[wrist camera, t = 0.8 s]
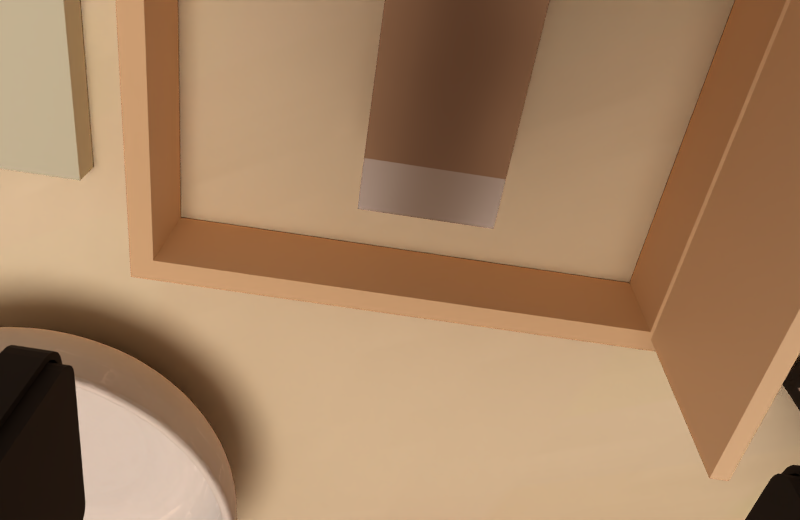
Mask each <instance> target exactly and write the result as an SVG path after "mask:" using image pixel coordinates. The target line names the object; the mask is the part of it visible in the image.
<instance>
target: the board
mask: <svg viewBox="0 0 800 520" xmlns="http://www.w3.org/2000/svg"><path fill="white" fill-rule="evenodd" d="M92 168H93V155H92V143H91V130H90V118H89V105H88V93H87V80H86V68H85V56H84V43H83V31H82V18H81V6H80V0H0V169H5V170H12V171H19V172H26V173H32V174H39V175H46V176H53V177H59V178H66V179H73V180H81V179H82V178H83V177H84V176H85V175H86V174H87V173H88V172H89V171H90V170H91V169H92Z"/></svg>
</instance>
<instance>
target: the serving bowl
mask: <svg viewBox="0 0 800 520" xmlns="http://www.w3.org/2000/svg"><path fill="white" fill-rule="evenodd" d="M10 345H17V346H24V347H30V348H37V349H43V350H50V351H55V352H58V353H59V354H60V356H61V360H62V364H65V365H70V366H72V367H73V369H74V374H75V386H76V398H77V409H78V421H79V433H80V444H81V456H82V468H83V480H84V491H85V514H84V518H83V520H237V502H236V492H235V485H234V480H233V476H232V472H231V468H230V465H229V462H228V459H227V456H226V454H225V452H224V450H223V447H222V445H221V443H220V441H219V439H218V437H217V436H216V434H215V432H214V430H213V429H212V427H211V426H210V424H209V423H208V421H207V420H206V419H205V417H204V416H203V415H202V413H201V412H200V411H199V410H198V408H197V407H196V406H195V405H194V404H193V403H192V402H191V400H190V399H189V398H188V397H187V396H186V395H185V394H184V393H183V392H182V391H181V390H179V389H178V388H177V387H176V386H175V385H174V384H172V383H171V382H170V381H169V380H168V379H166V378H165V377H164V376H162V375H161V374H160V373H158V372H157V371H155V370H154V369H152V368H151V367H149V366H147V365H146V364H144V363H143V362H141V361H139V360H138V359H136V358H134V357H132V356H130V355H128V354H126V353H124V352H122V351H120V350H117V349H115V348H113V347H110V346H108V345H105V344H102V343H99V342H96V341H93V340H90V339H87V338H84V337H80V336H76V335H72V334H68V333H63V332H58V331H52V330H46V329H37V328H26V327H0V353H1V351H3V350H4V349H5V348H6V347H7V346H10Z"/></svg>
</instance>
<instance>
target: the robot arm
mask: <svg viewBox="0 0 800 520" xmlns="http://www.w3.org/2000/svg"><path fill="white" fill-rule="evenodd" d="M84 514H85V491H84V480H83V468H82V456H81V444H80V433H79V421H78V409H77V398H76V386H75V374H74V369H73V367H72V366H70V365H65V364H62V360H61V356H60V354H59V353H58V352H55V351H50V350H43V349H37V348H30V347H24V346H17V345H10V346H7V347H6V348H5V349H4V350H3V351H1V353H0V520H83V518H84ZM745 520H800V466H799V465H792V466H789V467H787V468H786V469H785V470H784V471H783V473H782V474H776V475H774V476H773V477H772V478H771V479H770V481H769V483H768V484H767V486H766V487H765V489H764V491H763V492H762V494H761V495H760V497H759V498H758V500H757V502H756V503H755V505H754V506H753V508H752V510H751V511H750V513H749V514H748V516H747V518H746V519H745Z"/></svg>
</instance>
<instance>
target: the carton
mask: <svg viewBox="0 0 800 520" xmlns="http://www.w3.org/2000/svg"><path fill="white" fill-rule="evenodd" d="M116 17H117V35H118V53H119V71H120V89H121V107H122V125H123V143H124V161H125V178H126V196H127V214H128V232H129V250H130V268H131V277H136V278H144V279H151V280H158V281H165V282H172V283H179V284H186V285H193V286H200V287H207V288H214V289H221V290H228V291H235V292H242V293H249V294H256V295H263V296H270V297H277V298H284V299H291V300H298V301H305V302H312V303H319V304H326V305H333V306H340V307H347V308H354V309H361V310H368V311H375V312H382V313H389V314H396V315H403V316H410V317H417V318H424V319H432V320H439V321H446V322H453V323H460V324H467V325H474V326H481V327H488V328H495V329H502V330H509V331H516V332H523V333H530V334H537V335H544V336H551V337H558V338H565V339H572V340H579V341H586V342H593V343H600V344H607V345H614V346H621V347H628V348H635V349H642V350H649V351H656V353H657V355H658V358H659V360H660V362H661V365H662V367H663V369H664V372H665V374H666V377H667V379H668V381H669V384H670V386H671V388H672V391H673V393H674V395H675V398H676V400H677V403H678V405H679V407H680V410H681V412H682V414H683V417H684V419H685V422H686V424H687V426H688V429H689V431H690V433H691V436H692V438H693V440H694V443H695V445H696V448H697V450H698V452H699V455H700V457H701V459H702V462H703V464H704V466H705V469H706V471H707V474H708V476H709V478H710V479H718V480H725V481H729V480H730V478H731V476H732V474H733V472H734V471H735V469H736V467H737V465H738V463H739V462H740V460H741V458H742V456H743V454H744V453H745V451H746V449H747V447H748V445H749V444H750V442H751V440H752V438H753V436H754V435H755V433H756V431H757V429H758V427H759V426H760V424H761V422H762V420H763V418H764V416H765V415H766V413H767V411H768V409H769V407H770V406H771V404H772V402H773V400H774V398H775V397H776V395H777V393H778V391H779V389H780V388H781V386H782V384H783V382H784V380H785V379H786V377H787V375H788V373H789V371H790V370H791V368H792V366H793V364H794V362H795V361H796V359H797V357H798V355H799V353H800V0H735V2H734V5H733V8H732V10H731V13H730V16H729V18H728V21H727V24H726V26H725V29H724V32H723V34H722V37H721V40H720V42H719V45H718V48H717V50H716V53H715V56H714V58H713V61H712V64H711V66H710V69H709V72H708V75H707V77H706V80H705V83H704V85H703V88H702V91H701V93H700V96H699V99H698V101H697V104H696V107H695V109H694V112H693V115H692V117H691V120H690V123H689V125H688V128H687V131H686V133H685V136H684V139H683V141H682V144H681V147H680V149H679V152H678V155H677V157H676V160H675V163H674V165H673V168H672V171H671V173H670V176H669V179H668V182H667V184H666V187H665V190H664V192H663V195H662V198H661V200H660V203H659V206H658V208H657V211H656V214H655V216H654V219H653V222H652V224H651V227H650V230H649V232H648V235H647V238H646V240H645V243H644V246H643V248H642V251H641V254H640V256H639V259H638V262H637V264H636V267H635V270H634V272H633V275H632V278H631V280H630V283H626V282H619V281H612V280H605V279H599V278H592V277H585V276H578V275H571V274H564V273H558V272H551V271H544V270H537V269H530V268H523V267H517V266H510V265H503V264H496V263H489V262H482V261H476V260H469V259H462V258H455V257H448V256H441V255H435V254H428V253H421V252H414V251H407V250H400V249H394V248H387V247H380V246H373V245H366V244H359V243H353V242H346V241H339V240H332V239H325V238H318V237H312V236H305V235H298V234H291V233H284V232H277V231H271V230H264V229H257V228H250V227H243V226H236V225H230V224H223V223H216V222H209V221H202V220H195V219H188V218H182V217H181V196H180V115H179V34H178V0H116Z"/></svg>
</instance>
